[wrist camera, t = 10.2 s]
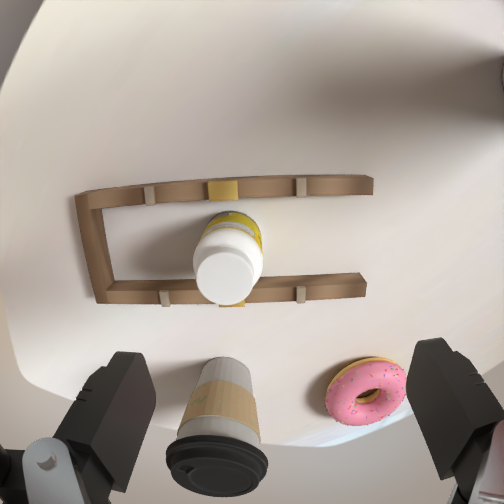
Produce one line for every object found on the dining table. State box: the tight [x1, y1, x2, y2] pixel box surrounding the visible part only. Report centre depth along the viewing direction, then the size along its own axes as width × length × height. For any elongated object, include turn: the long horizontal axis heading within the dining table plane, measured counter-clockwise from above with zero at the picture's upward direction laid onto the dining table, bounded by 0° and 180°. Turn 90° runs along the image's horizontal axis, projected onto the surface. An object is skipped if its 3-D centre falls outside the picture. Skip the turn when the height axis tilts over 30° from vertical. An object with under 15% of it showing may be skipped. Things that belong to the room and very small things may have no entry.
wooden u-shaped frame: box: [75, 175, 374, 307], centre depth 30 cm, size 28×12×3 cm, turn 93°
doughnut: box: [325, 357, 407, 426], centre depth 36 cm, size 11×11×4 cm
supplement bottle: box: [193, 211, 263, 305], centre depth 26 cm, size 5×5×10 cm
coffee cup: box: [166, 357, 268, 497], centre depth 30 cm, size 9×9×15 cm
